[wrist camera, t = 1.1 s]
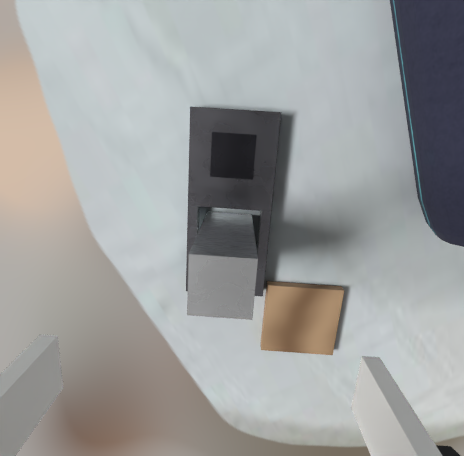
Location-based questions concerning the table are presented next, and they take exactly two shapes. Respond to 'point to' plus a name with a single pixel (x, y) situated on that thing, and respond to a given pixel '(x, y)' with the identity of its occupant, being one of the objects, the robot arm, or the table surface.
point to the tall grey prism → (223, 267)
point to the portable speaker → (434, 106)
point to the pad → (301, 317)
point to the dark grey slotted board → (233, 169)
